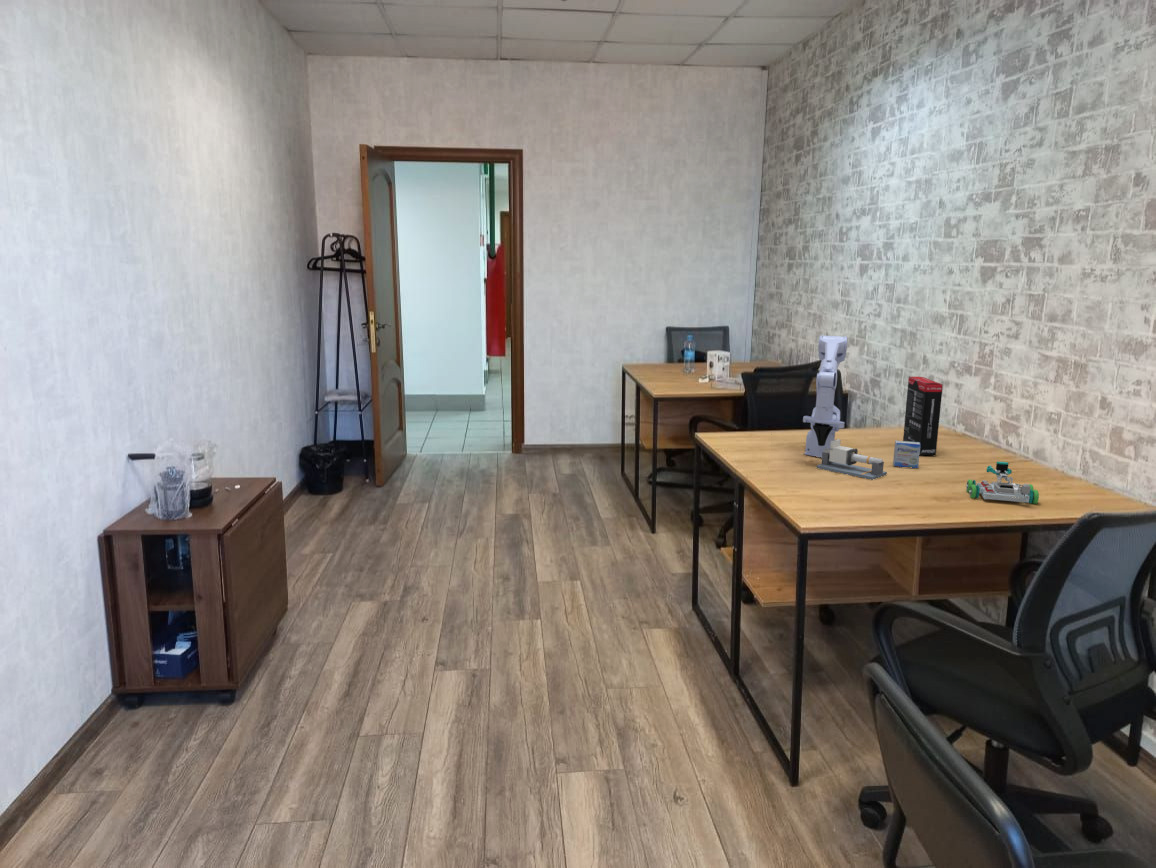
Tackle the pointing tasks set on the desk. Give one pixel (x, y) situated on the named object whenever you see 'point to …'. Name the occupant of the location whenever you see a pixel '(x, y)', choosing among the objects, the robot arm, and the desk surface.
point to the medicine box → (906, 454)
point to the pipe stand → (854, 466)
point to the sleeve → (838, 452)
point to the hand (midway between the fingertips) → (821, 445)
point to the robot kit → (1002, 487)
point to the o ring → (850, 456)
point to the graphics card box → (923, 413)
